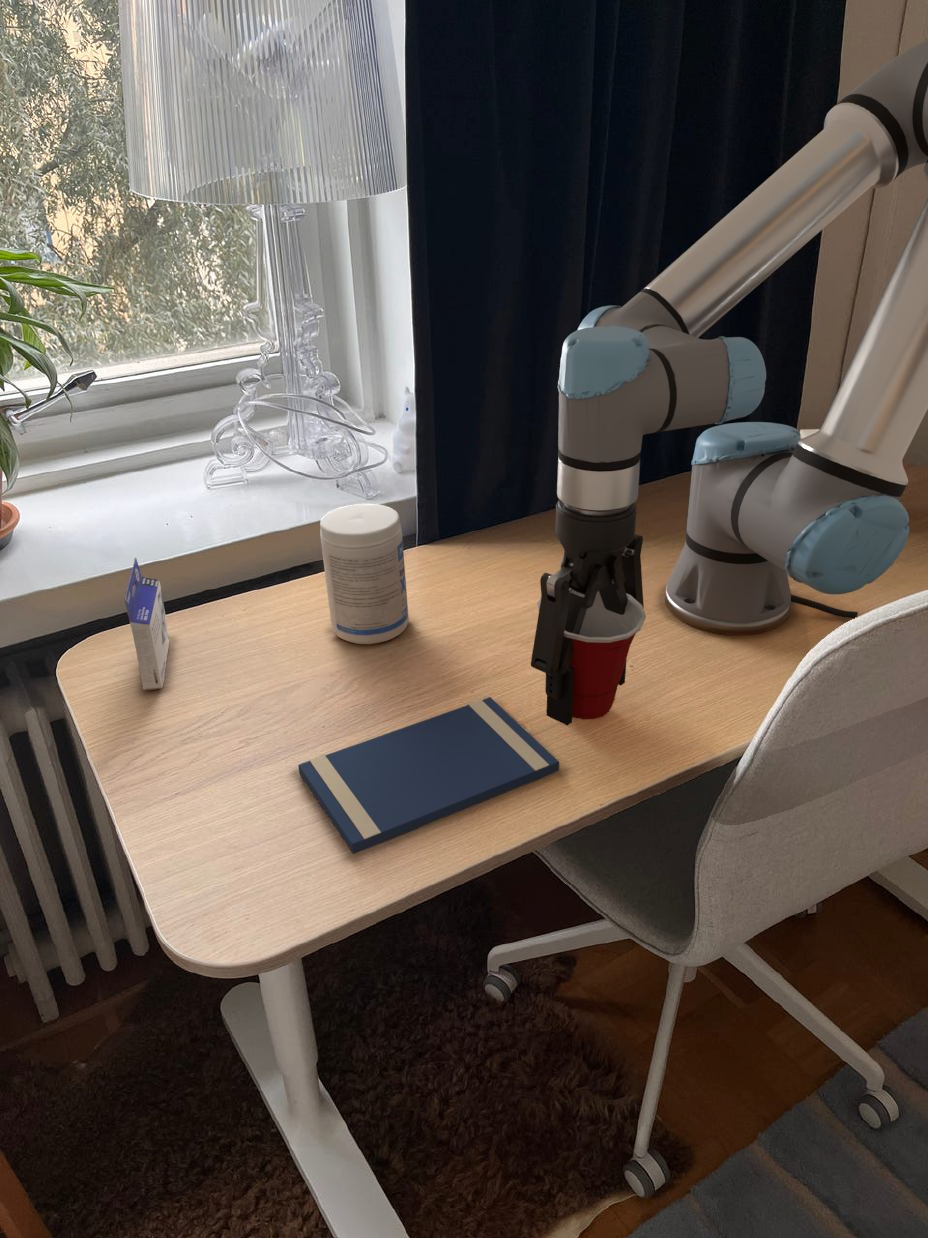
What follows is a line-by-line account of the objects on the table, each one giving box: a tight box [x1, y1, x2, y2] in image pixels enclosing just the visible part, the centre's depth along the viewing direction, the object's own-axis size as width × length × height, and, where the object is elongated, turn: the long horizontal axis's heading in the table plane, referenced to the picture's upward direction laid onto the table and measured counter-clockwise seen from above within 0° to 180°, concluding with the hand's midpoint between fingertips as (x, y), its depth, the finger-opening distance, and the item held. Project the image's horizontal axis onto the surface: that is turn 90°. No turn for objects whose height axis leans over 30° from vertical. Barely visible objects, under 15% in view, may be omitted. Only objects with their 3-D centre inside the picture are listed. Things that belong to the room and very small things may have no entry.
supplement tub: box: [319, 503, 409, 645], centre depth 116 cm, size 10×10×15 cm
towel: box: [297, 696, 560, 855], centre depth 94 cm, size 22×13×1 cm, turn 120°
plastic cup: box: [537, 589, 647, 721], centre depth 99 cm, size 11×11×12 cm
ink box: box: [124, 557, 170, 691], centre depth 110 cm, size 12×2×12 cm, turn 11°
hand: (586, 698), depth 102 cm, fingers closed on plastic cup, 9 cm apart
